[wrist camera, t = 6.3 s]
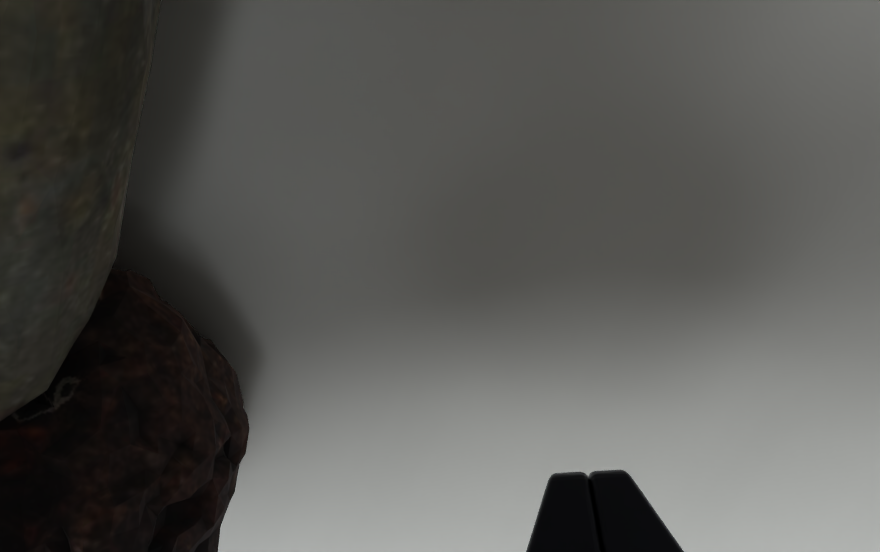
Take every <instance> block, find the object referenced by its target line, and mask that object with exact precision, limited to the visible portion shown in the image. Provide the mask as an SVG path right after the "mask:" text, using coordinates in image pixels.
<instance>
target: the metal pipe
mask: <svg viewBox="0 0 880 552" xmlns="http://www.w3.org/2000/svg"><path fill="white" fill-rule="evenodd" d="M160 4H161V0H0V552H218V543H219V534H220V526H221V524H222V521H223V518H224V515H225V513H226V510H227V507H228V505H229V502H230V500H231V498H232V496H233V494H234V492H235V487H236V481H237V475H238V469H239V464H240V462H241V460H242V458H243V457H244V455H245V453H246V447H247V440H248V433H249V423H248V417H247V414H246V412H245V410H244V408H243V398H242V394H241V390H240V386H239V382H238V378H237V374H236V372H235V370H234V369H233V368H232V367H231V365H230V364H229V363H228V362H227V360H226V359H225V358H224V357H223V355H222V354H221V353H220V352H219V350H218V349H217V348H216V347H215V345H214V344H213V342H212V341H211V340H209V339H206V338H203V337H200V336H199V334H198V333H197V332H196V330H195V329H194V328H193V327H192V326H191V325H190V323H189V322H188V321H187V320H186V319H185V318H184V317H183V316H182V315H181V314H180V312H178V311H177V310H176V309H175V308H173V307H172V306H171V305H170V304H169V303H167V302H166V301H162V300H160V298H159V296H158V294H157V292H156V290H155V289H154V287H153V285H152V283H151V281H150V279H148V278H146V277H144V276H142V275H140V274H138V273H136V272H134V271H132V270H127V271H121V270H117V269H113V268H112V266H113V264H114V261H115V259H116V257H117V252H118V245H119V239H120V233H121V226H122V220H123V214H124V207H125V201H126V195H127V188H128V182H129V176H130V170H131V163H132V157H133V152H134V147H135V142H136V137H137V132H138V128H139V123H140V118H141V113H142V108H143V103H144V98H145V93H146V88H147V83H148V78H149V73H150V69H151V64H152V57H153V50H154V44H155V37H156V31H157V24H158V18H159V11H160Z"/></svg>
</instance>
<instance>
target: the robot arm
mask: <svg viewBox="0 0 880 552" xmlns="http://www.w3.org/2000/svg"><path fill="white" fill-rule="evenodd" d="M526 552H684V551H683V550H682V548H681V547H680V546H679V544H678V543H677V541H676V540H675V538H674V537H673V536H672V534H671V533H670V531H669V530H668V528H667V527H666V526H665V524H664V523H663V521H662V520H661V519H660V517H659V516H658V514H657V513H656V511H655V510H654V509H653V507H652V506H651V504H650V503H649V501H648V500H647V499H646V497H645V496H644V494H643V493H642V491H641V490H640V489H639V487H638V486H637V484H636V483H635V482H634V480H633V479H632V477H631V476H630V475H629V474H628V473H627V472H626V471H623V470H606V471H594V472H592V473H590V475H589V478H588V476H587V475H586V474H585V473H583V472H569V473H555V474H553V475H551V477H550V478H549V480H548V483H547V486H546V490H545V493H544V496H543V499H542V503H541V506H540V509H539V512H538V516H537V519H536V522H535V525H534V528H533V532H532V535H531V538H530V541H529V545H528V548H527V551H526Z"/></svg>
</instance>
